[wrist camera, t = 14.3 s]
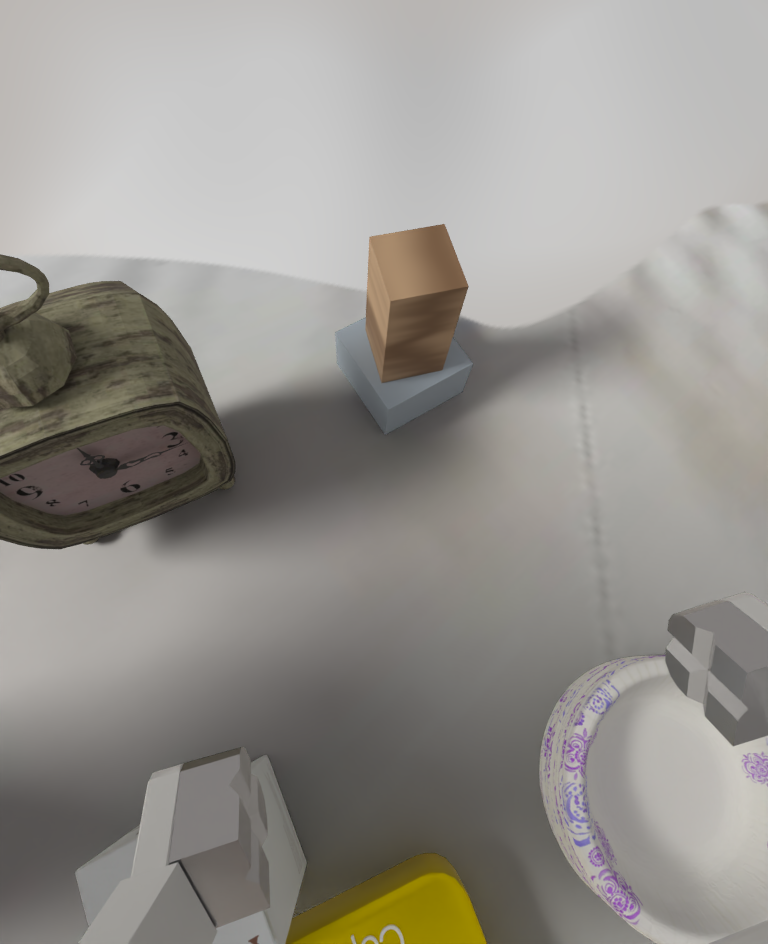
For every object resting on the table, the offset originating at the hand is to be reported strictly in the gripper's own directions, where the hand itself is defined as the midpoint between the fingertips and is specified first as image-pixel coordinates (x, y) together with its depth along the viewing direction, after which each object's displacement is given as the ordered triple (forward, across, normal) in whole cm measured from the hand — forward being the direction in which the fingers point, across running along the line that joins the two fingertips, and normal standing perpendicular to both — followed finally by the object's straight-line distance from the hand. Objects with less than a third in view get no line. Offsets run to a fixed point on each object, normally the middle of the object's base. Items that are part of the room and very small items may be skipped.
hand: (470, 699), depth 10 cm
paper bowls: (+15, -15, +30) cm, 37 cm away
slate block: (+39, -8, +6) cm, 40 cm away
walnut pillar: (+35, -8, +2) cm, 36 cm away
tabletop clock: (+36, +14, +9) cm, 40 cm away
